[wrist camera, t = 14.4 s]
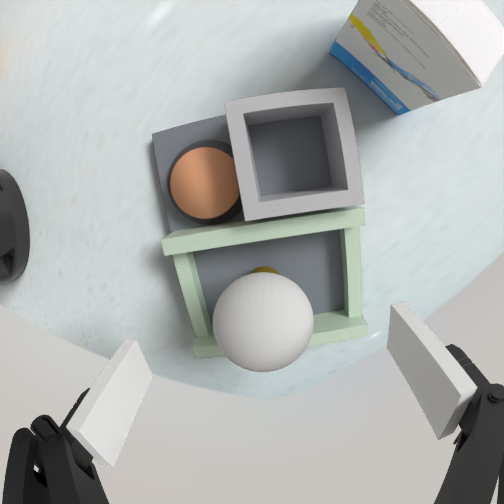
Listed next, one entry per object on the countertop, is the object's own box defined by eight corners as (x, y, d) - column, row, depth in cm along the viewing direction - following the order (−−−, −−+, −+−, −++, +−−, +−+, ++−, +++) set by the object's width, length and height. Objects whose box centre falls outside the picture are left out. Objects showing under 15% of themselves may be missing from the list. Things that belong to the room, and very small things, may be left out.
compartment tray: (203, 334, 26) (189, 371, 20) (157, 135, 21) (126, 127, 15) (356, 314, 24) (375, 347, 19) (334, 103, 19) (354, 84, 14)
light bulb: (220, 296, 23) (191, 373, 14) (243, 232, 21) (222, 282, 12) (284, 318, 23) (291, 402, 14) (312, 258, 22) (341, 322, 12)
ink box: (397, 119, 19) (485, 92, 8) (326, 51, 18) (367, -26, 7) (440, 71, 17) (515, 39, 6) (377, 11, 16) (427, -52, 4)
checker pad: (182, 221, 21) (178, 224, 20) (170, 157, 20) (164, 156, 18) (247, 209, 20) (246, 212, 19) (235, 142, 19) (233, 140, 18)
